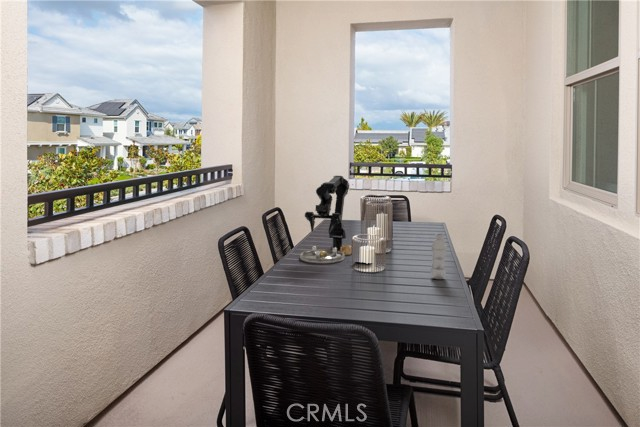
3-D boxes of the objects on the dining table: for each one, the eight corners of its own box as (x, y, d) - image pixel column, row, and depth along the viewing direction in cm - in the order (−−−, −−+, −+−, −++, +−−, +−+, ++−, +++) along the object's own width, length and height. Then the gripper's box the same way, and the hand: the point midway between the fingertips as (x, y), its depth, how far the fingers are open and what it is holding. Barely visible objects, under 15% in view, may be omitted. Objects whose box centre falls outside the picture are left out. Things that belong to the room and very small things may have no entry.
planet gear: (339, 252, 267) (339, 244, 266) (350, 251, 268) (350, 244, 267) (341, 255, 260) (341, 247, 260) (353, 254, 262) (353, 246, 261)
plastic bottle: (433, 276, 219) (434, 232, 216) (447, 278, 215) (449, 234, 212) (427, 279, 214) (429, 234, 211) (442, 281, 210) (444, 236, 207)
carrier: (297, 254, 262) (297, 244, 261) (339, 252, 266) (339, 243, 265) (303, 264, 240) (303, 254, 239) (348, 262, 244) (348, 252, 243)
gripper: (304, 197, 248) (298, 224, 242) (339, 198, 242) (334, 226, 236) (310, 206, 258) (305, 233, 252) (344, 207, 252) (339, 235, 246)
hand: (320, 232), depth 246 cm, fingers open, 9 cm apart
